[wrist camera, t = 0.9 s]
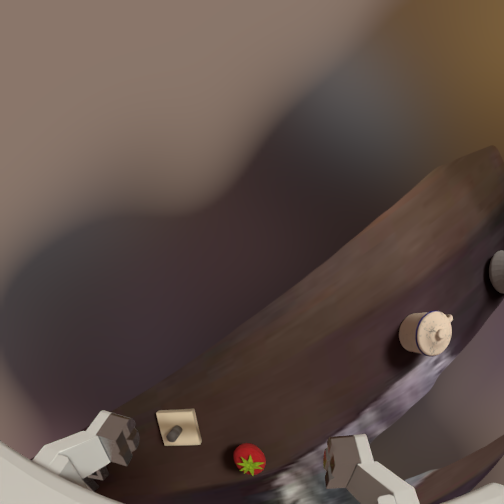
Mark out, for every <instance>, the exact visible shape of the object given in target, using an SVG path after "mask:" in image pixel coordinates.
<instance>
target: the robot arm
mask: <svg viewBox="0 0 504 504" xmlns="http://www.w3.org/2000/svg"><path fill="white" fill-rule="evenodd" d="M134 426H135V421H134V419H132V418H128V417H125V416H121V415H118V414H115V413H111V412H108V411H104V410H103V411H101V412H100V413H99V414H98V415H97V417H96V418H95V419H94V421H93V422H92V423H91V425H90V426H89V428H88V429H87V430H86V432H85V431H81V432H78V433H76V434H73V435H71V436H68V437H66V438H63V439H61V440H58V441H55V442H52V443H50V444H47V445H44V447H43V448H42V449H41V450H40V451H39V453H38V454H37V455H36V456H35V458H34V459H33V460H32V461H31V460H29V459H28V458H26V457H24V456H22V455H21V454H20V453H18V452H16V451H15V450H13V449H12V448H10V447H9V446H7V445H6V444H5V443H3V442H1V441H0V504H124V503H121V502H119V501H116V500H113V499H110V498H108V497H105V496H102V495H100V494H97V493H95V492H92V491H90V490H88V487H87V486H86V484H85V483H84V481H83V480H82V479H84V478H85V477H87V476H89V475H91V474H92V473H94V472H96V471H97V470H99V469H100V468H102V467H104V466H105V465H107V464H109V463H110V461H111V462H114V463H118V464H121V465H125V466H128V464H129V462H130V460H131V458H132V453H131V452H132V451H134V450H136V448H137V446H138V444H139V433H138V431H137V430H136V429H135V428H134ZM327 445H328V448H326V449H325V452H324V459H323V460H324V469H325V470H326V471H327V472H326V475H325V481H326V489H330V488H345V487H347V489H348V491H349V492H350V493H351V494H352V495H353V496H354V497H355V498H356V499H357V500H358V501H359V502H360V503H361V504H419V501H418V498H417V495H416V492H415V489H414V488H413V487H412V486H410V485H409V484H408V483H406V482H405V481H403V480H402V479H400V478H399V477H398V476H396V475H395V474H394V473H392V472H391V471H389V470H388V469H387V468H385V467H384V466H383V465H381V464H380V463H379V462H374V460H373V457H372V453H371V450H370V446H369V443H368V440H367V436H366V435H365V434H361V435H349V436H337V437H329V438H328V441H327ZM441 504H504V485H500V484H497V483H490V484H487V485H485V486H483V487H481V488H478V489H476V490H474V491H472V492H469V493H467V494H465V495H462V496H460V497H457V498H455V499H452V500H449V501H447V502H444V503H441Z"/></svg>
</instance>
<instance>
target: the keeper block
mask: <svg viewBox="0 0 504 504" xmlns="http://www.w3.org/2000/svg"><path fill="white" fill-rule="evenodd" d="M156 415H157V419H158V423H159V427H160V431H161V435H162V438H163V442H164V445H165V446H176V445H200V444H201V442H202V440H201V436H200V432H199V427H198V423H197V419H196V414H195V410H194V409H182V410H159V411H158V412H157V413H156Z"/></svg>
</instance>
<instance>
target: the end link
mask: <svg viewBox="0 0 504 504" xmlns="http://www.w3.org/2000/svg"><path fill="white" fill-rule="evenodd" d="M108 476H109V473H108V470H107V467H106V465H105V466H104V467H102V468H100V469H99V470H97V471H96V472H94V473H92V474H91V475H89V476H87V477H88V478H93V479H98V480H104V479H105V478H107V477H108Z"/></svg>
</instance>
